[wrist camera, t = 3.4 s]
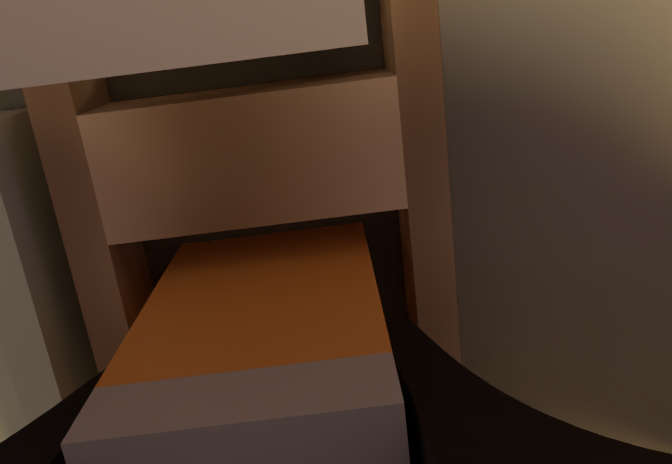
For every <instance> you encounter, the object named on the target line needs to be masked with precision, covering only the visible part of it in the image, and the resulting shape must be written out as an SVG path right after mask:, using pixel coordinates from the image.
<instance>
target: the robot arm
mask: <svg viewBox="0 0 672 464" xmlns="http://www.w3.org/2000/svg"><path fill="white" fill-rule="evenodd" d="M386 327H387V331H388V335H389V340H390V344H391V348H392V353H393V357H394V361H395V366H396V370H397V374H398V379H399V383H400V387H401V392H402V396H403V400H404V407H405V417H406V427H407V437H408V447H409V457H410V464H672V454H669V453H664V452H660V451H655V450H650V449H646V448H642V447H638V446H635V445H632V444H628V443H625V442H621V441H618V440H615V439H611V438H608V437H604V436H601V435H598V434H596V433H593V432H590V431H587V430H584V429H581V428H578V427H576V426H573V425H571V424H568V423H566V422H564V421H561V420H559V419H556V418H554V417H551V416H549V415H547V414H544V413H542V412H540V411H538V410H536V409H533V408H531V407H529V406H528V405H526V404H524V403H522V402H520V401H518V400H516V399H514V398H512V397H511V396H509V395H507V394H505V393H503V392H502V391H500V390H498V389H496V388H495V387H493V386H492V385H490V384H488V383H487V382H486V381H484V380H483V379H481V378H480V377H478V376H477V375H475V374H474V373H472V372H471V371H469V370H468V369H467V368H465V367H464V366H463V365H461V364H460V363H459V362H458V361H456V360H455V359H454V358H453V357H451V356H450V355H449V354H448V353H447V352H445V351H444V350H443V349H442V348H441V347H440V346H439V345H437V344H436V343H435V342H434V341H433V340H432V339H431V338H430V337H429V336H428V335H427V334H425V333H424V332H423V331H422V330H421V329H420V328H419V327H418V326H417V325H416V324H415V323H414V322H412V321H411V320H403V321H395V322H386ZM105 370H106V368H105V369H104V370H103V371H101V372H100V373H98V374H97V375H96V376H94V377H93V378H92V379H90V380H89V381H88V382H86V383H85V384H84V385H82V386H81V387H80V388H78V389H77V390H75V391H74V392H73V393H71V394H70V395H69V396H67V397H66V398H65V399H63V400H62V401H61V402H59V403H58V404H56V405H55V406H54V407H52V408H51V409H50V410H48V411H47V412H45V413H44V414H42V415H41V416H39V417H38V418H36V419H35V420H33V421H32V422H30V423H29V424H28V425H26V426H25V427H23V428H22V429H20V430H19V431H17V432H16V433H14V434H13V435H11V436H10V437H8V438H7V439H6V440H4V441H2V442H1V443H0V464H66V462H65V458H64V455H63V452H62V448H61V445H60V444H61V442H62V441H63V439H64V437H65V436H66V434H67V433H68V431H69V429H70V428H71V426H72V424H73V423H74V421H75V419H76V418H77V416H78V414H79V413H80V411H81V409H82V408H83V406H84V404H85V403H86V401H87V399H88V398H89V396H90V394H91V393H92V391H93V389H94V388H95V386H96V384H97V383H98V381H99V379H100V378H101V376H102V375H103V373H104V371H105Z"/></svg>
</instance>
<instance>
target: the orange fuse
mask: <svg viewBox="0 0 672 464" xmlns="http://www.w3.org/2000/svg"><path fill="white" fill-rule="evenodd" d="M60 445H61V448H62V452H63V455H64V458H65V462H66V464H410V457H409V447H408V437H407V427H406V417H405V407H404V400H403V396H402V392H401V387H400V383H399V379H398V374H397V370H396V366H395V361H394V357H393V353H392V348H391V344H390V340H389V335H388V331H387V327H386V322H385V318H384V314H383V309H382V305H381V301H380V296H379V292H378V288H377V283H376V279H375V275H374V270H373V266H372V262H371V257H370V253H369V249H368V244H367V240H366V236H365V231H364V227H363V223H362V222H358V223H350V224H342V225H333V226H325V227H317V228H309V229H301V230H293V231H285V232H277V233H268V234H260V235H252V236H244V237H236V238H228V239H220V240H212V241H203V242H195V243H187V244H181V245H180V247H179V249H178V250H177V252H176V254H175V255H174V257H173V259H172V260H171V262H170V263H169V265H168V267H167V268H166V270H165V272H164V273H163V275H162V277H161V278H160V280H159V282H158V283H157V285H156V287H155V288H154V290H153V292H152V293H151V295H150V297H149V298H148V300H147V302H146V303H145V305H144V307H143V308H142V310H141V312H140V313H139V315H138V317H137V318H136V320H135V321H134V323H133V325H132V326H131V328H130V330H129V331H128V333H127V335H126V336H125V338H124V340H123V341H122V343H121V345H120V346H119V348H118V350H117V351H116V353H115V355H114V356H113V358H112V360H111V361H110V363H109V365H108V366H107V368H106V370H105V371H104V373H103V375H102V376H101V378H100V379H99V381H98V383H97V384H96V386H95V388H94V389H93V391H92V393H91V394H90V396H89V398H88V399H87V401H86V403H85V404H84V406H83V408H82V409H81V411H80V413H79V414H78V416H77V418H76V419H75V421H74V423H73V424H72V426H71V428H70V429H69V431H68V433H67V434H66V436H65V437H64V439H63V441H62V442H61V444H60Z"/></svg>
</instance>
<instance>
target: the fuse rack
mask: <svg viewBox="0 0 672 464" xmlns="http://www.w3.org/2000/svg"><path fill="white" fill-rule="evenodd" d="M378 1H379V12H380V22H381V33H382V44H383V55H384V65H385V68H380V69H372V70H364V71H356V72H348V73H340V74H332V75H324V76H316V77H308V78H300V79H292V80H284V81H276V82H268V83H260V84H252V85H244V86H236V87H228V88H220V89H212V90H204V91H196V92H188V93H180V94H172V95H164V96H157V97H149V98H141V99H133V100H125V101H117V102H111V100H110V95H109V91H108V86H107V82H106V78H97V79H89V80H81V81H73V82H65V83H57V84H49V85H41V86H33V87H25V88H22V91H23V95H24V99H25V102H26V106H27V110H28V114H29V117H30V121H31V125H32V128H33V132H34V136H35V140H36V143H37V147H38V151H39V154H40V158H41V162H42V166H43V169H44V173H45V177H46V180H47V184H48V188H49V192H50V195H51V199H52V203H53V207H54V210H55V214H56V218H57V221H58V225H59V229H60V233H61V236H62V240H63V244H64V247H65V251H66V255H67V259H68V262H69V266H70V270H71V273H72V277H73V281H74V285H75V288H76V292H77V296H78V299H79V303H80V307H81V311H82V314H83V318H84V322H85V325H86V329H87V333H88V337H89V340H90V344H91V348H92V351H93V355H94V359H95V363H96V366H97V370H98V373H100V372H101V371H103V370H104V369H105V368H107V366H108V365H109V363H110V361H111V360H112V358H113V356H114V355H115V353H116V351H117V350H118V348H119V346H120V345H121V343H122V341H123V340H124V338H125V336H126V335H127V333H128V331H129V330H130V328H131V326H132V325H133V323H134V321H135V320H136V318H137V317H138V315H139V313H140V312H141V310H142V308H143V307H144V305H145V303H146V302H147V300H148V298H149V297H150V295H151V293H152V292H153V290H154V289H153V284H152V280H151V275H150V271H149V267H148V262H147V258H146V253H145V249H144V245H143V241H147V240H155V239H163V238H172V237H180V236H188V235H196V234H204V233H212V232H220V231H228V230H236V229H245V228H253V227H261V226H269V225H277V224H285V223H293V222H301V221H310V220H318V219H326V218H334V217H342V216H350V215H358V214H366V213H374V212H383V211H391V210H398V216H399V227H400V238H401V248H402V259H403V270H404V281H405V292H406V302H407V313H408V320H411V321H412V322H414V323H415V324H416V325H417V326H418V327H419V328H420V329H421V330H422V331H423V332H424V333H425V334H427V335H428V336H429V337H430V338H431V339H432V340H433V341H434V342H435V343H436V344H437V345H439V346H440V347H441V348H442V349H443V350H444V351H445V352H447V353H448V354H449V355H450V356H451V357H453V358H454V359H455V360H456V361H458V362H459V363H460V364H461V365H462V361H461V346H460V330H459V315H458V300H457V284H456V269H455V254H454V238H453V223H452V208H451V192H450V177H449V162H448V146H447V131H446V116H445V100H444V85H443V70H442V55H441V39H440V24H439V9H438V0H378Z"/></svg>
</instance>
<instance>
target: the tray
mask: <svg viewBox="0 0 672 464" xmlns="http://www.w3.org/2000/svg"><path fill="white" fill-rule="evenodd" d="M97 374H98V370H97V366H96V363H95V359H94V355H93V351H92V348H91V344H90V340H89V337H88V333H87V329H86V325H85V322H84V318H83V314H82V311H81V307H80V303H79V299H78V296H77V292H76V288H75V285H74V281H73V277H72V273H71V270H70V266H69V262H68V259H67V255H66V251H65V247H64V244H63V240H62V236H61V233H60V229H59V225H58V221H57V218H56V214H55V210H54V207H53V203H52V199H51V195H50V192H49V188H48V184H47V180H46V177H45V173H44V169H43V166H42V162H41V158H40V154H39V151H38V147H37V143H36V140H35V136H34V132H33V128H32V125H31V121H30V117H29V114H28V110H27V108H20V109H12V110H4V111H0V443H1V442H2V441H4V440H6V439H7V438H8V437H10V436H11V435H13V434H14V433H16V432H17V431H19V430H20V429H22V428H23V427H25V426H26V425H28V424H29V423H30V422H32V421H33V420H35V419H36V418H38V417H39V416H41V415H42V414H44V413H45V412H47V411H48V410H50V409H51V408H52V407H54V406H55V405H56V404H58V403H59V402H61V401H62V400H63V399H65V398H66V397H67V396H69V395H70V394H71V393H73V392H74V391H75V390H77V389H78V388H80V387H81V386H82V385H84V384H85V383H86V382H88V381H89V380H90V379H92V378H93V377H94V376H96V375H97Z"/></svg>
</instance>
